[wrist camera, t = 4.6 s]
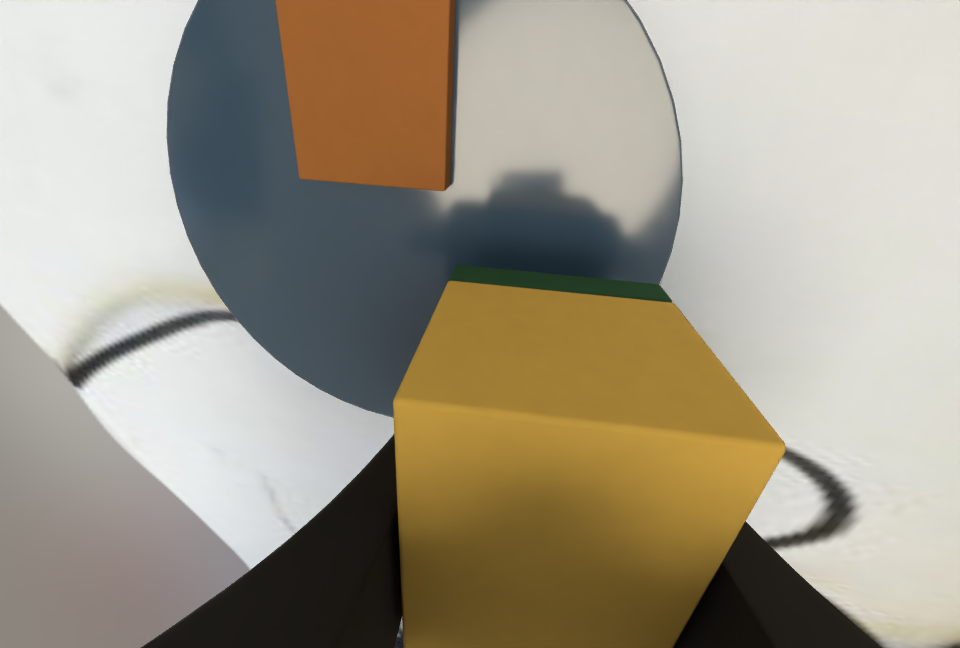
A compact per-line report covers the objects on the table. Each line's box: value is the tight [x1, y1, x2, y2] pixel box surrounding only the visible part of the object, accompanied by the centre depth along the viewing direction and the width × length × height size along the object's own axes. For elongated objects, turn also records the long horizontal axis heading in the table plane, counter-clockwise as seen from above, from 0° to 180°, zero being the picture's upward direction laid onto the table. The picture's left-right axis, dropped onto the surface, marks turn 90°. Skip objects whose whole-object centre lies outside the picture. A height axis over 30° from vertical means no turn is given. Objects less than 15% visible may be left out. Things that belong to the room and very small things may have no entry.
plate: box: [167, 0, 683, 417], centre depth 13 cm, size 15×15×1 cm
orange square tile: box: [275, 0, 455, 191], centre depth 10 cm, size 4×4×1 cm
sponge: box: [393, 265, 786, 648], centre depth 9 cm, size 8×5×5 cm, turn 176°
